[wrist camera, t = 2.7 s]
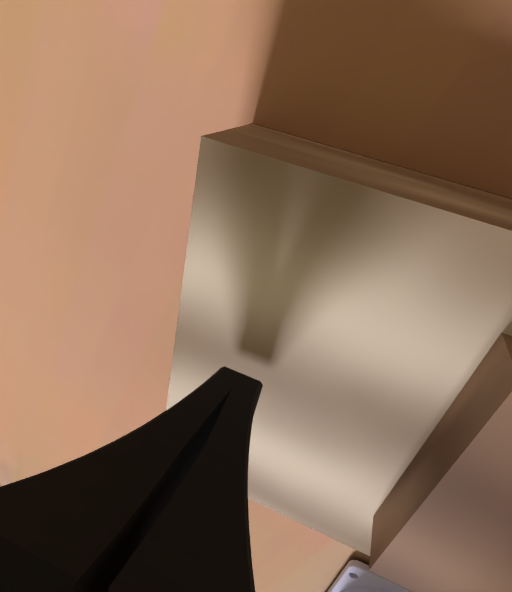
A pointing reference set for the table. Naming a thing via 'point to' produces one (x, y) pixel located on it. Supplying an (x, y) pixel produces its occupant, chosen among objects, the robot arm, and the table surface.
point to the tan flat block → (336, 313)
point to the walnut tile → (456, 494)
